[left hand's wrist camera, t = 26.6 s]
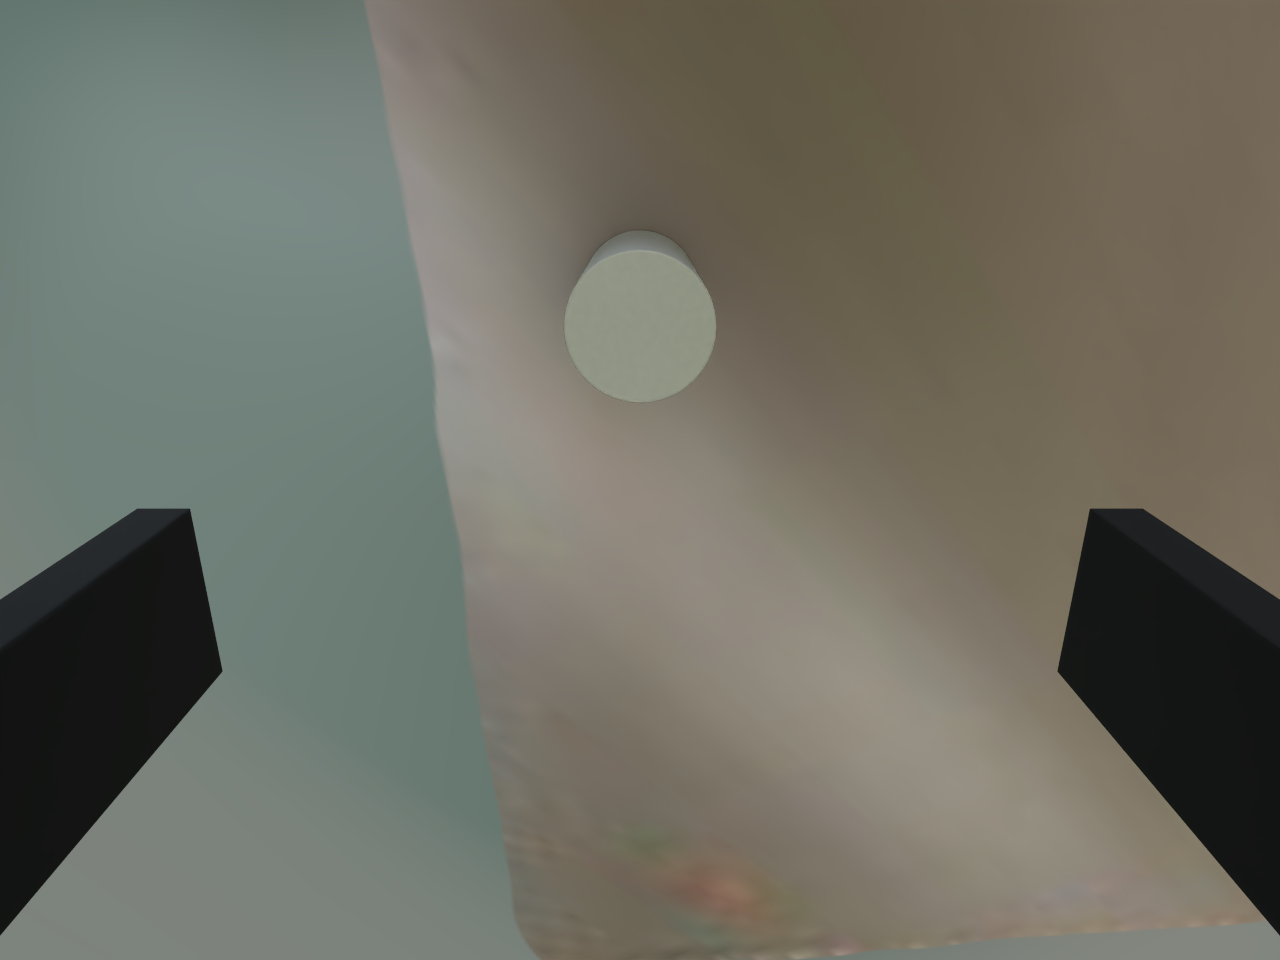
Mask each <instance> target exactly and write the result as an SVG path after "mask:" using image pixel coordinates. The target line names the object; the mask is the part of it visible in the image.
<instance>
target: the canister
mask: <svg viewBox="0 0 1280 960" xmlns="http://www.w3.org/2000/svg"><path fill="white" fill-rule="evenodd" d="M564 335H565V342H566V346H567V350H568V352H569V355H570V358H571V360H572V361H573V363H574V365H575V367H576V368H577V370H578V371H579V373H580V374H581V375H582V376H583V377H584V378H585V380H586V381H587V382H588V383H590V384H591V385H592V386H593V387H594V388H596V389H597V390H599V391H600V392H602V393H604V394H606V395H608V396H610V397H612V398H615V399H618V400H622V401H627V402H635V403H645V402H653V401H658V400H662V399H665V398H668V397H670V396H672V395H674V394H676V393H678V392H680V391H681V390H683V389H684V388H686V387H687V386H688V385H689V384H691V383H692V382H693V381H694V380H695V379H696V378H697V377H698V375H699V374H700V373H701V372H702V370H703V369H704V367H705V366H706V364H707V362H708V360H709V358H710V356H711V353H712V350H713V347H714V343H715V338H716V315H715V309H714V306H713V303H712V299H711V297H710V295H709V293H708V291H707V289H706V287H705V285H704V283H703V282H702V280H701V278H700V277H699V275H698V273H697V271H696V270H695V268H694V266H693V265H692V263H691V261H690V259H689V258H688V256H687V255H686V253H685V252H684V251H683V250H682V248H681V247H680V246H678V245H677V244H676V243H675V242H674V241H672V240H671V239H669V238H668V237H666V236H664V235H662V234H659V233H656V232H652V231H645V230H636V231H629V232H624V233H622V234H619V235H617V236H615V237H613V238H611V239H609V240H608V241H607V242H605V243H604V244H603V245H602V246H601V247H600V248H599V249H598V250H597V251H596V252H595V254H594V255H593V257H592V258H591V260H590V262H589V263H588V265H587V267H586V269H585V270H584V272H583V274H582V275H581V277H580V279H579V281H578V282H577V284H576V286H575V287H574V289H573V291H572V293H571V296H570V298H569V300H568V303H567V307H566V311H565V317H564Z"/></svg>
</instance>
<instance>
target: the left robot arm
mask: <svg viewBox="0 0 1280 960" xmlns="http://www.w3.org/2000/svg"><path fill="white" fill-rule="evenodd" d="M221 673H222V667H221V661H220V657H219V651H218V647H217V642H216V637H215V631H214V627H213V622H212V617H211V612H210V607H209V602H208V597H207V592H206V587H205V582H204V577H203V572H202V567H201V562H200V557H199V552H198V547H197V542H196V537H195V532H194V527H193V522H192V517H191V512H190V509H136V510H135V511H133V512H132V513H130V514H129V515H127V516H126V517H124V518H123V519H121V520H120V521H118V522H117V523H115V524H114V525H112V526H111V527H109V528H108V529H106V530H105V531H103V532H102V533H100V534H99V535H97V536H96V537H94V538H92V539H91V540H89V541H88V542H86V543H85V544H84V545H82V546H80V547H79V548H77V549H76V550H74V551H73V552H71V553H70V554H68V555H67V556H65V557H64V558H62V559H61V560H59V561H58V562H56V563H55V564H53V565H52V566H50V567H49V568H47V569H46V570H44V571H43V572H41V573H40V574H38V575H37V576H35V577H34V578H32V579H31V580H29V581H28V582H26V583H25V584H23V585H22V586H20V587H19V588H17V589H16V590H14V591H13V592H11V593H10V594H8V595H7V596H5V597H4V598H2V599H0V935H1V934H2V933H3V931H4V930H5V929H6V928H7V927H8V926H9V924H10V923H11V922H12V921H13V920H14V918H15V917H16V916H17V915H18V914H19V912H20V911H21V910H22V909H23V908H24V907H25V905H26V904H27V903H28V902H29V901H30V899H31V898H32V897H33V896H34V895H35V893H36V892H37V891H38V890H39V889H40V888H41V886H42V885H43V884H44V883H45V882H46V880H47V879H48V878H49V877H50V876H51V874H52V873H53V872H54V871H55V870H56V869H57V867H58V866H59V865H60V864H61V863H62V861H63V860H64V859H65V858H66V857H67V855H68V854H69V853H70V852H71V851H72V850H73V848H74V847H75V846H76V845H77V844H78V842H79V841H80V840H81V839H82V838H83V836H84V835H85V834H86V833H87V832H88V831H89V829H90V828H91V827H92V826H93V825H94V823H95V822H96V821H97V820H98V819H99V817H100V816H101V815H102V814H103V813H104V811H105V810H106V809H107V808H108V807H109V806H110V804H111V803H112V802H113V801H114V800H115V798H116V797H117V796H118V795H119V794H120V793H121V791H122V790H123V789H124V788H125V787H126V785H127V784H128V783H129V782H130V781H131V779H132V778H133V777H134V776H135V775H136V773H137V772H138V771H139V770H140V769H141V767H142V766H143V765H144V764H145V763H146V762H147V760H148V759H149V758H150V757H151V756H152V754H153V753H154V752H155V751H156V750H157V749H158V747H159V746H160V745H161V744H162V743H163V741H164V740H165V739H166V738H167V737H168V735H169V734H170V733H171V732H172V731H173V729H174V728H175V727H176V726H177V725H178V724H179V722H180V721H181V720H182V719H183V718H184V716H185V715H186V714H187V713H188V712H189V711H190V709H191V708H192V707H193V706H194V705H195V703H196V702H197V701H198V700H199V699H200V697H201V696H202V695H203V694H204V693H205V692H206V690H207V689H208V688H209V687H210V686H211V684H212V683H213V682H214V681H215V680H216V678H217V677H218V676H219V675H220V674H221ZM1058 673H1059V674H1060V675H1061V676H1062V677H1063V678H1064V680H1065V681H1066V682H1067V683H1068V684H1069V686H1070V687H1071V688H1072V689H1073V690H1074V692H1075V693H1076V694H1077V695H1078V696H1079V697H1080V699H1081V700H1082V701H1083V702H1084V703H1085V705H1086V706H1087V707H1088V708H1089V709H1090V711H1091V712H1092V713H1093V714H1094V715H1095V716H1096V718H1097V719H1098V720H1099V721H1100V722H1101V724H1102V725H1103V726H1104V727H1105V728H1106V730H1107V731H1108V732H1109V733H1110V734H1111V735H1112V737H1113V738H1114V739H1115V740H1116V741H1117V743H1118V744H1119V745H1120V746H1121V747H1122V749H1123V750H1124V751H1125V752H1126V753H1127V754H1128V756H1129V757H1130V758H1131V759H1132V760H1133V762H1134V763H1135V764H1136V765H1137V766H1138V768H1139V769H1140V770H1141V771H1142V772H1143V774H1144V775H1145V776H1146V777H1147V778H1148V779H1149V781H1150V782H1151V783H1152V784H1153V785H1154V787H1155V788H1156V789H1157V790H1158V791H1159V793H1160V794H1161V795H1162V796H1163V797H1164V798H1165V800H1166V801H1167V802H1168V803H1169V804H1170V806H1171V807H1172V808H1173V809H1174V810H1175V812H1176V813H1177V814H1178V815H1179V816H1180V817H1181V819H1182V820H1183V821H1184V822H1185V823H1186V825H1187V826H1188V827H1189V828H1190V829H1191V831H1192V832H1193V833H1194V834H1195V835H1196V836H1197V838H1198V839H1199V840H1200V841H1201V842H1202V844H1203V845H1204V846H1205V847H1206V848H1207V850H1208V851H1209V852H1210V853H1211V854H1212V855H1213V857H1214V858H1215V859H1216V860H1217V861H1218V863H1219V864H1220V865H1221V866H1222V867H1223V869H1224V870H1225V871H1226V872H1227V873H1228V874H1229V876H1230V877H1231V878H1232V879H1233V880H1234V882H1235V883H1236V884H1237V885H1238V886H1239V888H1240V889H1241V890H1242V891H1243V892H1244V893H1245V895H1246V896H1247V897H1248V898H1249V899H1250V901H1251V902H1252V903H1253V904H1254V905H1255V907H1256V908H1257V909H1258V910H1259V911H1260V912H1261V914H1262V915H1263V916H1264V917H1265V918H1266V920H1267V921H1268V922H1269V923H1270V924H1271V926H1272V927H1273V928H1274V929H1275V930H1276V931H1277V933H1278V934H1279V935H1280V599H1278V598H1276V597H1275V596H1273V595H1272V594H1270V593H1269V592H1267V591H1266V590H1264V589H1263V588H1261V587H1260V586H1258V585H1257V584H1255V583H1254V582H1252V581H1251V580H1249V579H1248V578H1246V577H1245V576H1243V575H1242V574H1240V573H1239V572H1237V571H1236V570H1234V569H1233V568H1231V567H1230V566H1228V565H1227V564H1225V563H1224V562H1222V561H1221V560H1219V559H1218V558H1216V557H1215V556H1213V555H1212V554H1210V553H1209V552H1207V551H1206V550H1204V549H1203V548H1201V547H1200V546H1198V545H1197V544H1195V543H1194V542H1192V541H1191V540H1189V539H1188V538H1186V537H1185V536H1183V535H1181V534H1180V533H1178V532H1177V531H1175V530H1174V529H1172V528H1171V527H1169V526H1168V525H1166V524H1165V523H1163V522H1162V521H1160V520H1159V519H1157V518H1156V517H1154V516H1153V515H1151V514H1150V513H1148V512H1147V511H1145V510H1144V509H1090V512H1089V517H1088V522H1087V527H1086V532H1085V537H1084V542H1083V547H1082V552H1081V557H1080V562H1079V567H1078V572H1077V577H1076V582H1075V587H1074V592H1073V597H1072V602H1071V607H1070V612H1069V617H1068V622H1067V627H1066V631H1065V636H1064V641H1063V646H1062V651H1061V656H1060V661H1059V666H1058Z"/></svg>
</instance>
